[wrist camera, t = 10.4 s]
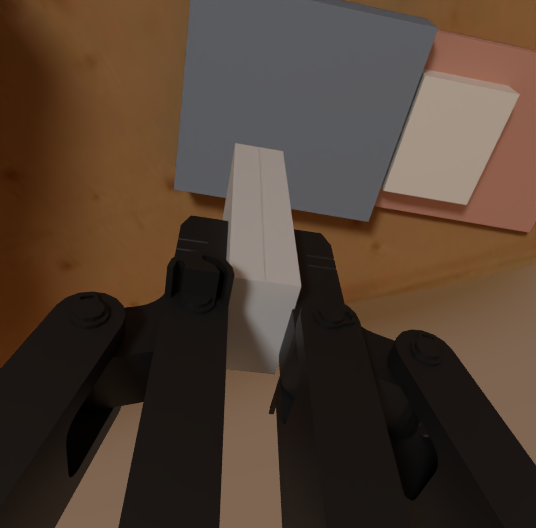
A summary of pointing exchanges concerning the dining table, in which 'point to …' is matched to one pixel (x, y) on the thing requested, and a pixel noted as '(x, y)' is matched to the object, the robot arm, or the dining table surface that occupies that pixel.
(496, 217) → the mat
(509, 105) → the tile
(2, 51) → the dining table surface
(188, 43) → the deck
